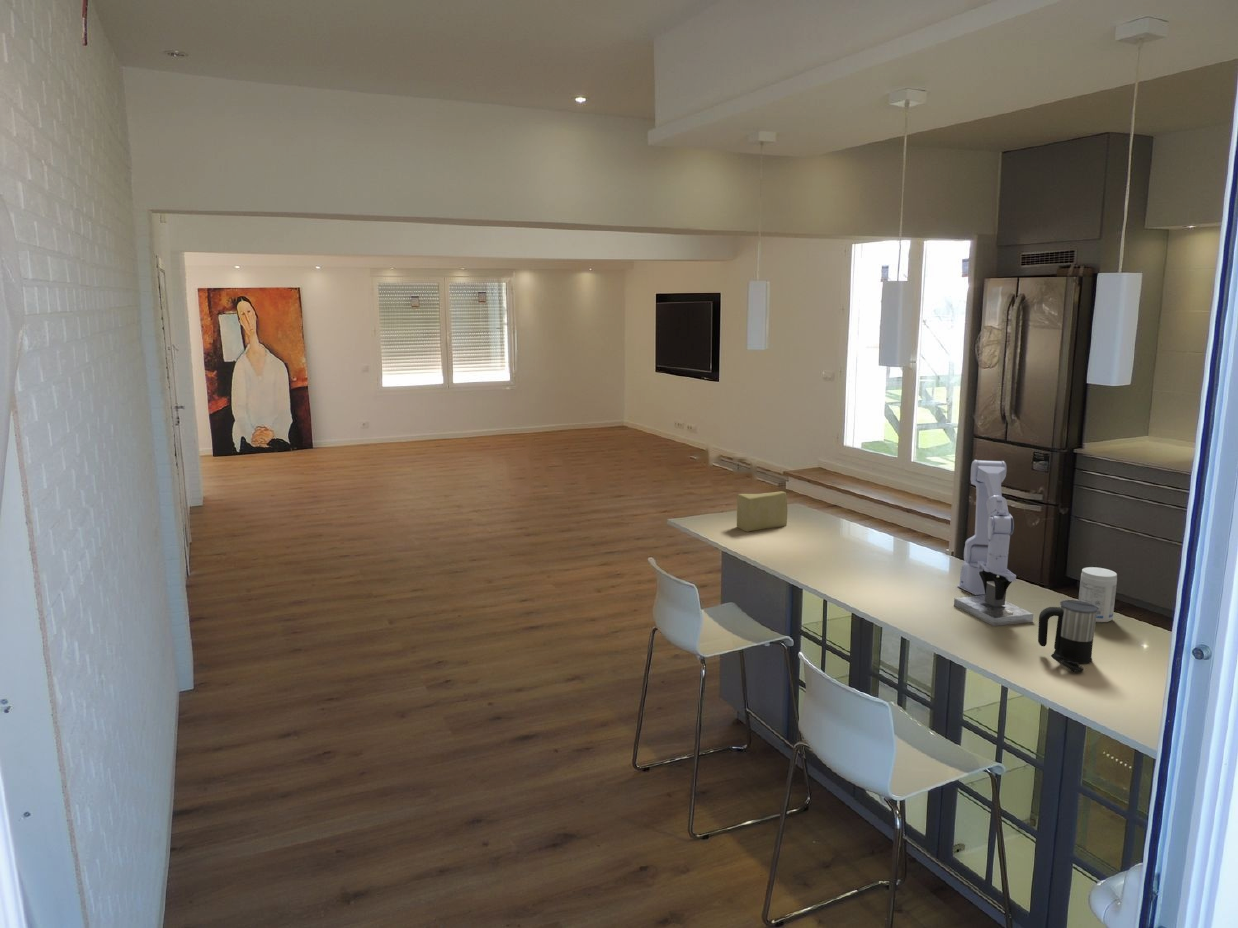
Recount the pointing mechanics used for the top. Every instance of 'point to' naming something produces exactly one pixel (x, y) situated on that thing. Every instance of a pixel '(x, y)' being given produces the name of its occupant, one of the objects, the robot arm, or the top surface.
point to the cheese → (761, 511)
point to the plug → (993, 595)
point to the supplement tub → (1099, 591)
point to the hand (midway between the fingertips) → (993, 596)
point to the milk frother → (1070, 632)
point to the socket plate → (993, 611)
